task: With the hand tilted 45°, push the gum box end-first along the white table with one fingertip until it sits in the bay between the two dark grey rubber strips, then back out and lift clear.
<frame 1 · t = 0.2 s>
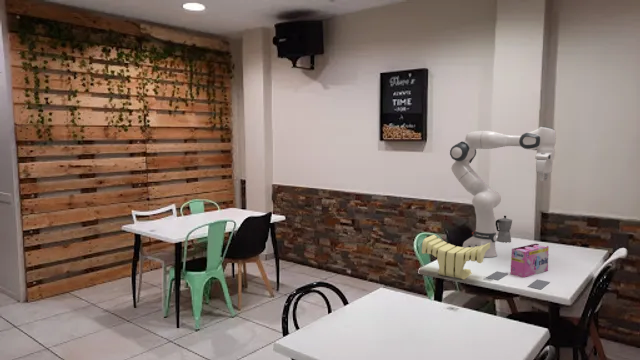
hand: (543, 180, 248), 47 cm above the table, tool pointing down, fingers open, 8 cm apart
gum box: (529, 272, 237), on the table
coffeepot: (502, 241, 309), on the table
bay: (517, 280, 223), on the table
slatted curved stool: (454, 275, 231), on the table
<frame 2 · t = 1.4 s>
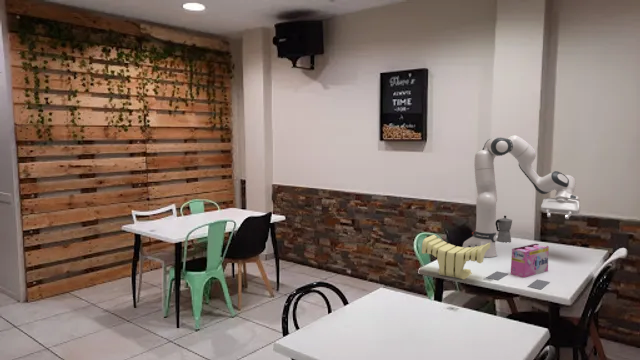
hand: (557, 217, 256), 26 cm above the table, tool tilted 45°, fingers open, 8 cm apart
nothing on the table moved.
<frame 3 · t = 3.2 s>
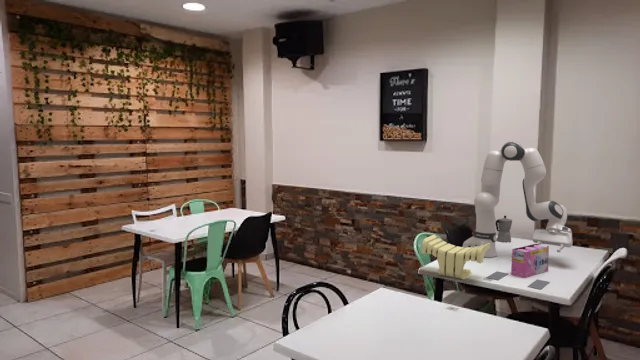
hand: (549, 250, 247), 9 cm above the table, tool tilted 45°, fingers open, 8 cm apart
nothing on the table moved.
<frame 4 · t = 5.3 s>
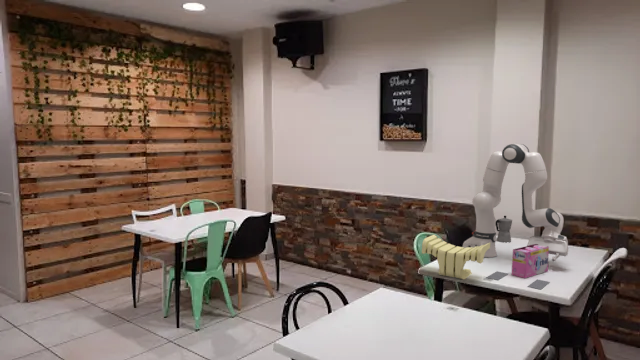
hand: (544, 258, 242), 6 cm above the table, tool tilted 45°, fingers open, 8 cm apart
gum box: (529, 273, 235), on the table, touching gripper
everything else where it was.
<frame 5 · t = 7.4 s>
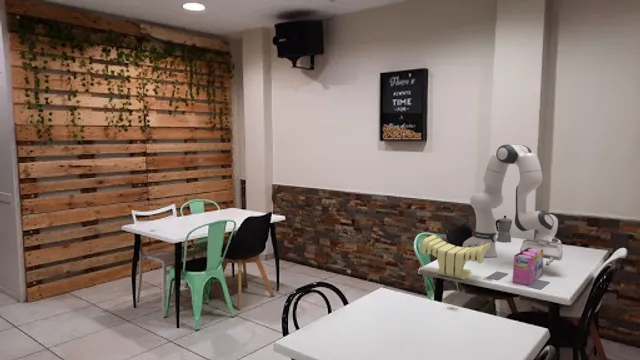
hand: (537, 263, 233), 6 cm above the table, tool tilted 45°, fingers open, 8 cm apart
gum box: (527, 279, 225), on the table, touching gripper
everything else where it was.
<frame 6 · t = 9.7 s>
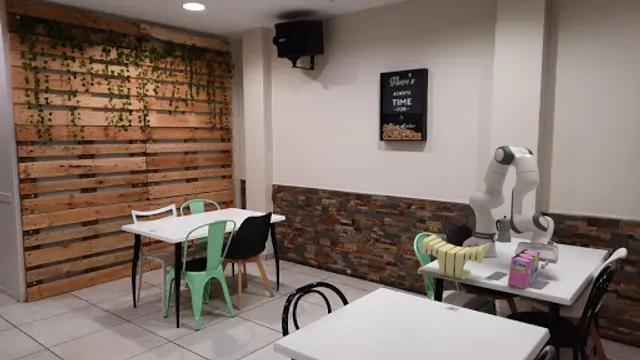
hand: (532, 266, 227), 6 cm above the table, tool tilted 45°, fingers open, 8 cm apart
gum box: (522, 281, 220), on the table, touching gripper
everything else where it was.
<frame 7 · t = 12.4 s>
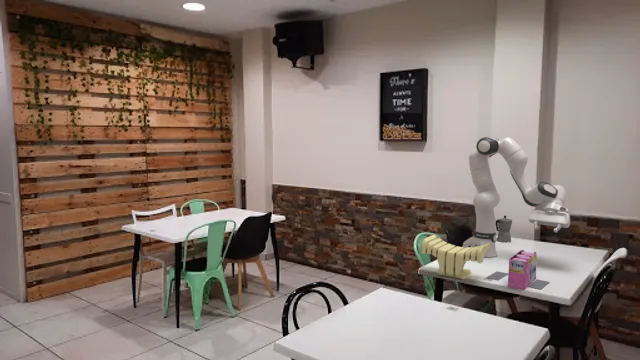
hand: (545, 230, 241), 21 cm above the table, tool tilted 45°, fingers open, 8 cm apart
gum box: (522, 282, 220), on the table
everything else where it was.
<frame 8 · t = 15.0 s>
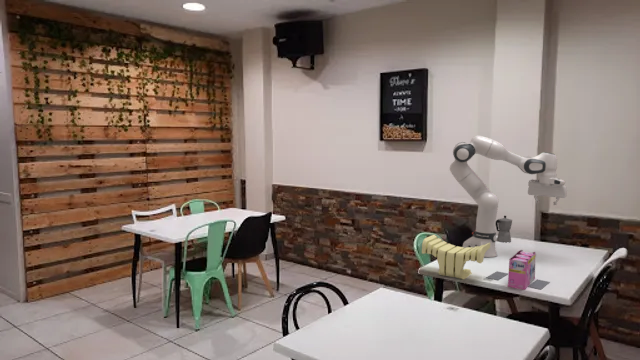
hand: (546, 204, 259), 33 cm above the table, tool pointing down, fingers open, 8 cm apart
nothing on the table moved.
at the end: gum box inside the target area on the bay (3.4 cm from its centre), point 0.0 cm above the bay's base; gum box tilted 0°; gum box moved 20.7 cm from its start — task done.
